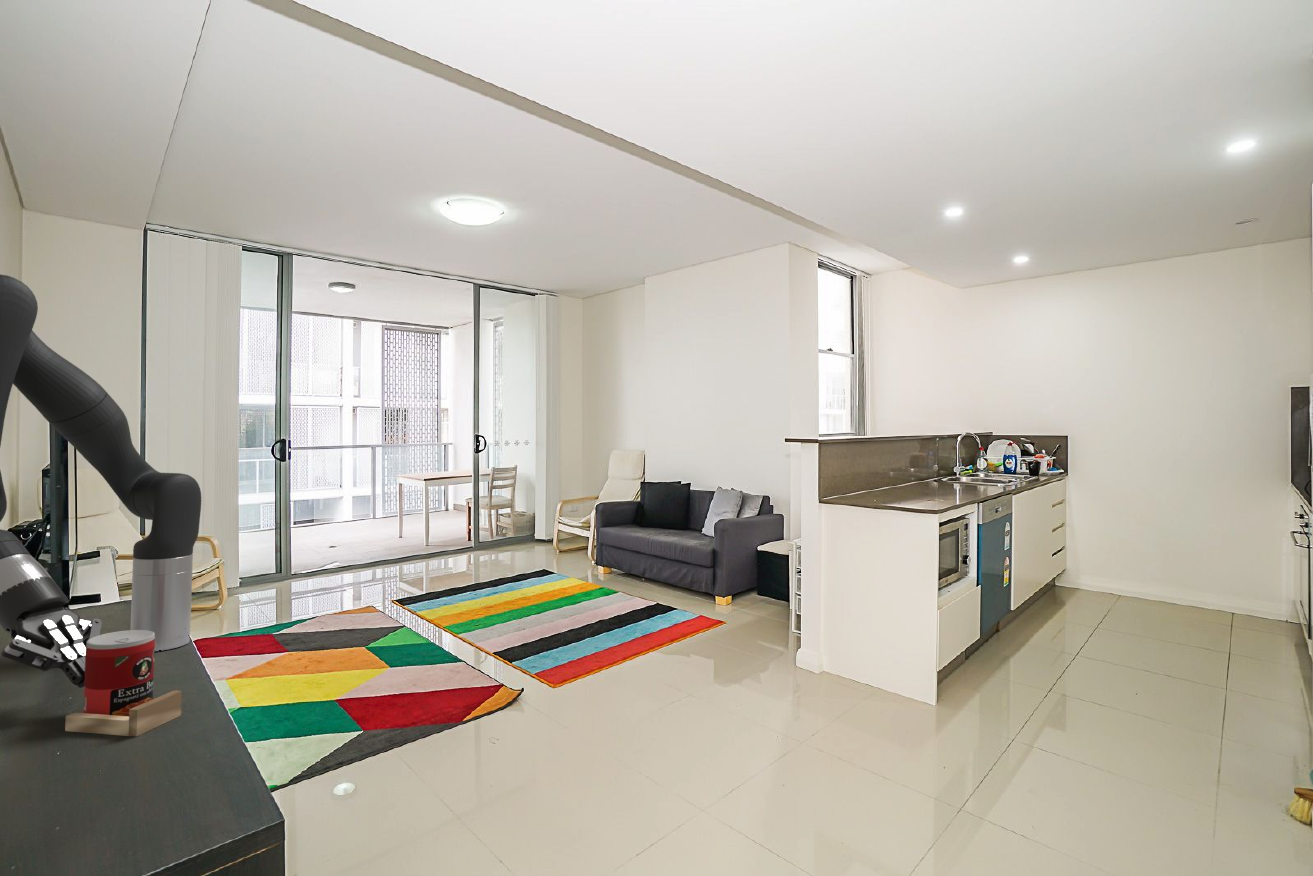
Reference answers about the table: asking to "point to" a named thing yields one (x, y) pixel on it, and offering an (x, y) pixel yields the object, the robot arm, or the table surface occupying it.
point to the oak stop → (129, 718)
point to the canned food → (119, 672)
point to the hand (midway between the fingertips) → (90, 682)
